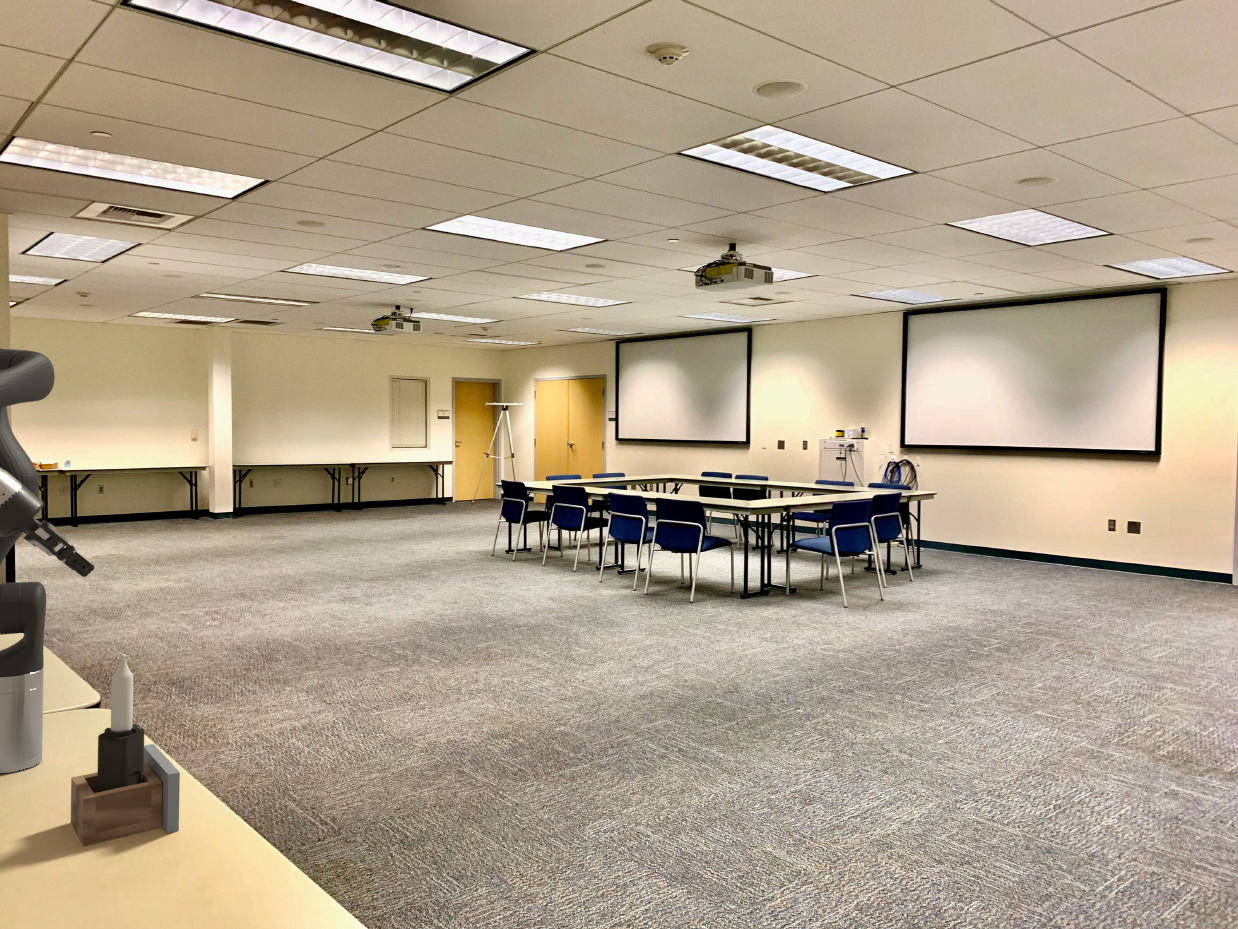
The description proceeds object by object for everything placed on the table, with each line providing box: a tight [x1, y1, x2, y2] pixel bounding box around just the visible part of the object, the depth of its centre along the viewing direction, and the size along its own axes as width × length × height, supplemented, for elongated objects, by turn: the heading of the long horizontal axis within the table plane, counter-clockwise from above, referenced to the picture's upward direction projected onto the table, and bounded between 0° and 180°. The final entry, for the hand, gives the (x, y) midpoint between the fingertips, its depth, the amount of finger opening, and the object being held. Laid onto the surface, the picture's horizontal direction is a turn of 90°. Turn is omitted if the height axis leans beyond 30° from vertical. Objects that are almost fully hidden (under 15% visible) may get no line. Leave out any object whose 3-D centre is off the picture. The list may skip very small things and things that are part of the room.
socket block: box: [70, 763, 163, 847], centre depth 133 cm, size 10×10×7 cm
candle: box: [97, 653, 145, 793], centre depth 133 cm, size 5×5×25 cm
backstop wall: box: [144, 743, 181, 834], centre depth 137 cm, size 16×2×9 cm, turn 41°
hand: (84, 569), depth 138 cm, fingers open, 8 cm apart
